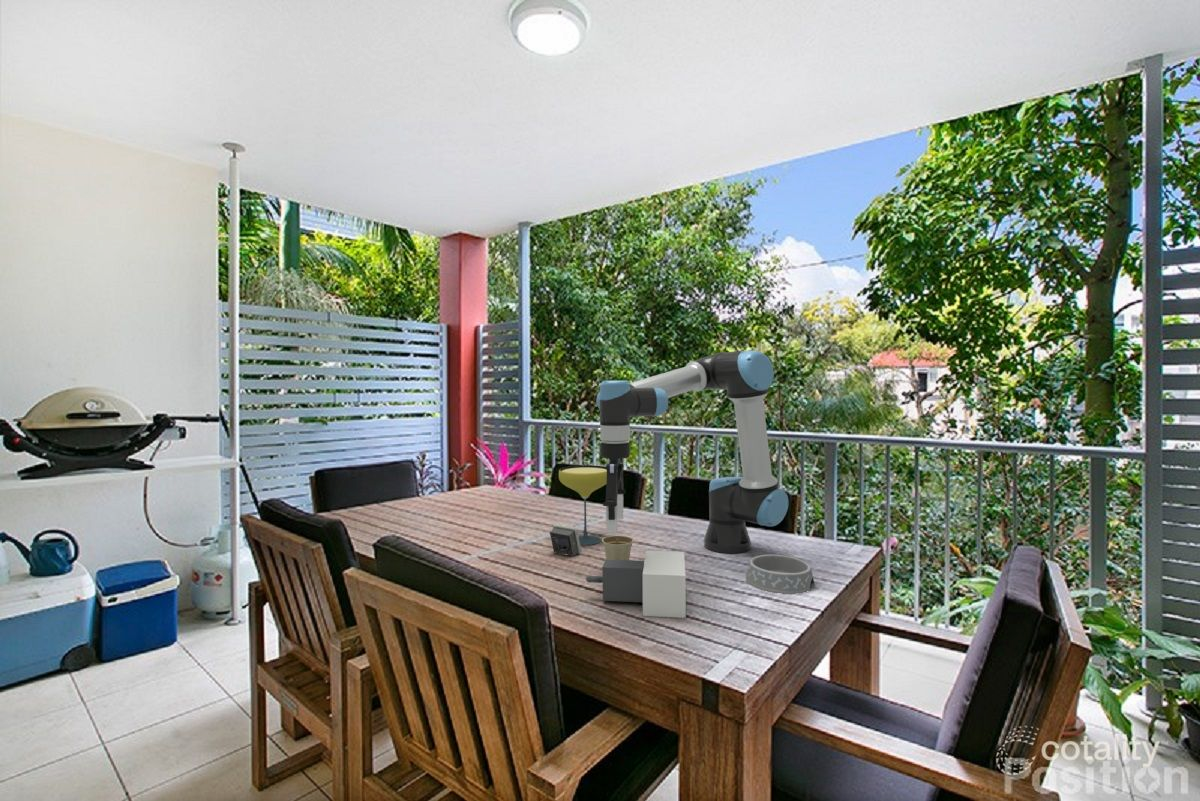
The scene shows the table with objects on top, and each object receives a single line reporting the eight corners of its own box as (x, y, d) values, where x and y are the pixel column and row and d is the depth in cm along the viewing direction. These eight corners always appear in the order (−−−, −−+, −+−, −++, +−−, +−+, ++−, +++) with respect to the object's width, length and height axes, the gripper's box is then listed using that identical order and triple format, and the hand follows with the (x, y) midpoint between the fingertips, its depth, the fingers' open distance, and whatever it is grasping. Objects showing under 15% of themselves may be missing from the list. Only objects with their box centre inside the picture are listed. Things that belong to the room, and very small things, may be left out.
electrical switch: (582, 554, 177) (580, 526, 176) (572, 560, 173) (570, 531, 172) (558, 549, 183) (556, 522, 181) (549, 555, 178) (547, 527, 177)
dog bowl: (817, 577, 156) (817, 558, 156) (807, 600, 140) (807, 579, 140) (756, 567, 164) (756, 549, 164) (739, 588, 148) (739, 568, 148)
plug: (666, 593, 142) (666, 561, 141) (666, 603, 136) (666, 569, 135) (588, 590, 144) (587, 558, 144) (584, 599, 138) (584, 566, 138)
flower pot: (638, 565, 166) (638, 537, 165) (626, 576, 157) (626, 546, 157) (609, 561, 170) (609, 533, 169) (596, 571, 161) (596, 542, 161)
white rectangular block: (684, 588, 147) (683, 551, 147) (685, 617, 129) (685, 575, 129) (646, 587, 148) (646, 550, 148) (642, 615, 130) (642, 574, 130)
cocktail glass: (570, 551, 180) (569, 475, 179) (552, 537, 197) (551, 467, 196) (620, 544, 187) (619, 471, 186) (599, 531, 204) (598, 463, 203)
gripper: (606, 436, 152) (606, 513, 153) (592, 447, 127) (593, 538, 128) (633, 436, 151) (633, 513, 152) (625, 447, 126) (625, 539, 127)
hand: (615, 525), depth 140 cm, fingers open, 13 cm apart
